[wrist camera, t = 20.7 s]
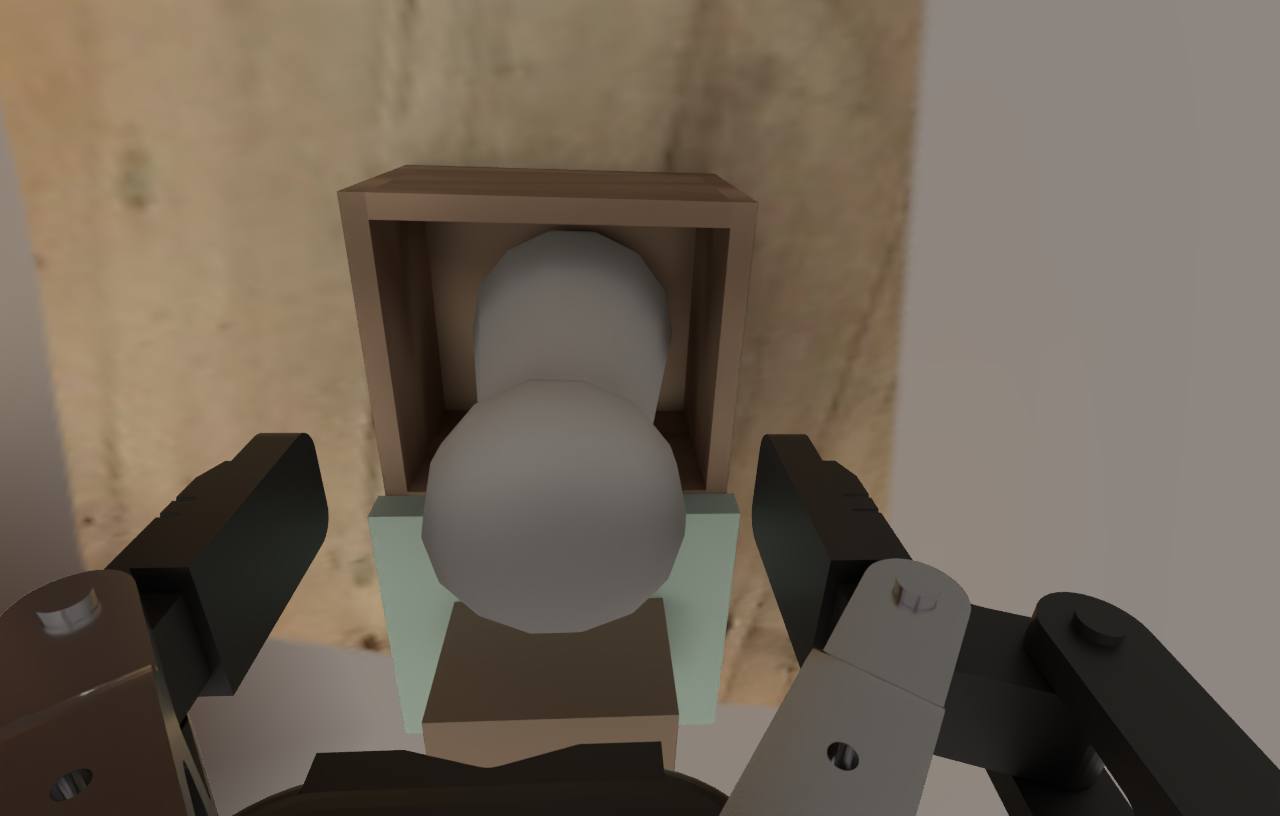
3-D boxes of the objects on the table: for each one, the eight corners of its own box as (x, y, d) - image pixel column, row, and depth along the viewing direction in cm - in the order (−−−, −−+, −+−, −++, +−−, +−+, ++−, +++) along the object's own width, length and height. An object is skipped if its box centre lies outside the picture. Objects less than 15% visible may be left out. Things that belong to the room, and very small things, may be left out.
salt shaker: (694, 268, 21) (820, 485, 9) (614, 410, 23) (637, 732, 12) (528, 181, 20) (435, 310, 8) (458, 341, 22) (302, 631, 10)
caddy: (405, 165, 20) (337, 191, 15) (714, 174, 21) (758, 202, 15) (453, 587, 27) (419, 709, 22) (681, 583, 28) (703, 700, 22)
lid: (378, 496, 18) (307, 629, 14) (733, 493, 19) (777, 619, 14) (413, 707, 22) (366, 867, 17) (709, 698, 22) (738, 849, 18)
